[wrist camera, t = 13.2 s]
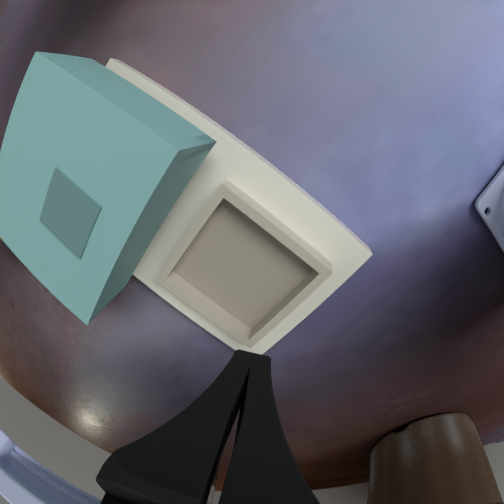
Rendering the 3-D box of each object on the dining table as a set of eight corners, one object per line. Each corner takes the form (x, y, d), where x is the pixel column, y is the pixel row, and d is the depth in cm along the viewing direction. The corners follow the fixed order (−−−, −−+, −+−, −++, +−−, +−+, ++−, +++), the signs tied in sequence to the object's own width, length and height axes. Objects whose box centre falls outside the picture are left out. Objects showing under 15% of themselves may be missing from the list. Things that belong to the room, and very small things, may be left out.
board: (369, 247, 17) (376, 264, 15) (255, 352, 21) (250, 373, 19) (119, 60, 14) (98, 55, 12) (57, 195, 19) (37, 204, 17)
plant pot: (462, 456, 25) (477, 553, 10) (349, 479, 29) (342, 585, 14) (506, 380, 19) (552, 511, 4) (355, 415, 23) (353, 583, 8)
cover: (216, 141, 13) (177, 150, 9) (126, 285, 18) (86, 326, 14) (91, 58, 12) (34, 51, 8) (34, 200, 17) (-13, 223, 12)
